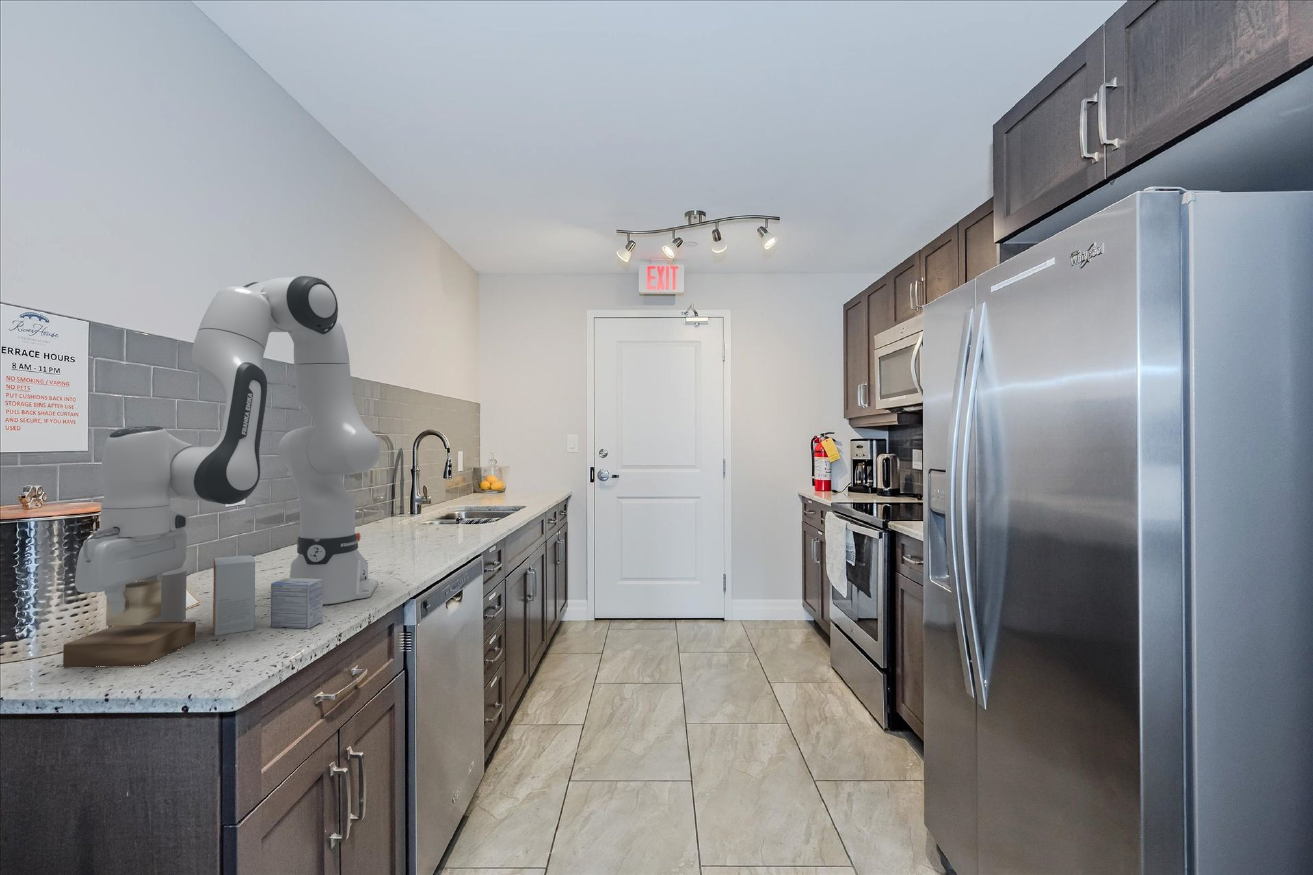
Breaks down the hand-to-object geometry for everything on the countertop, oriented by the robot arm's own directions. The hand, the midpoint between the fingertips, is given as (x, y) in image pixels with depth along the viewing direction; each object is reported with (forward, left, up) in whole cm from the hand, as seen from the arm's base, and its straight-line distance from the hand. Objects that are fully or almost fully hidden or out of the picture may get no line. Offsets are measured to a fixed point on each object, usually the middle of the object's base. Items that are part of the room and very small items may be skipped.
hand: (134, 606), depth 103 cm
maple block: (0, 0, -2) cm, 2 cm away
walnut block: (0, 0, -8) cm, 8 cm away
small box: (-14, +8, -8) cm, 18 cm away
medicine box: (-15, +19, -8) cm, 25 cm away
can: (-16, -6, -8) cm, 19 cm away
